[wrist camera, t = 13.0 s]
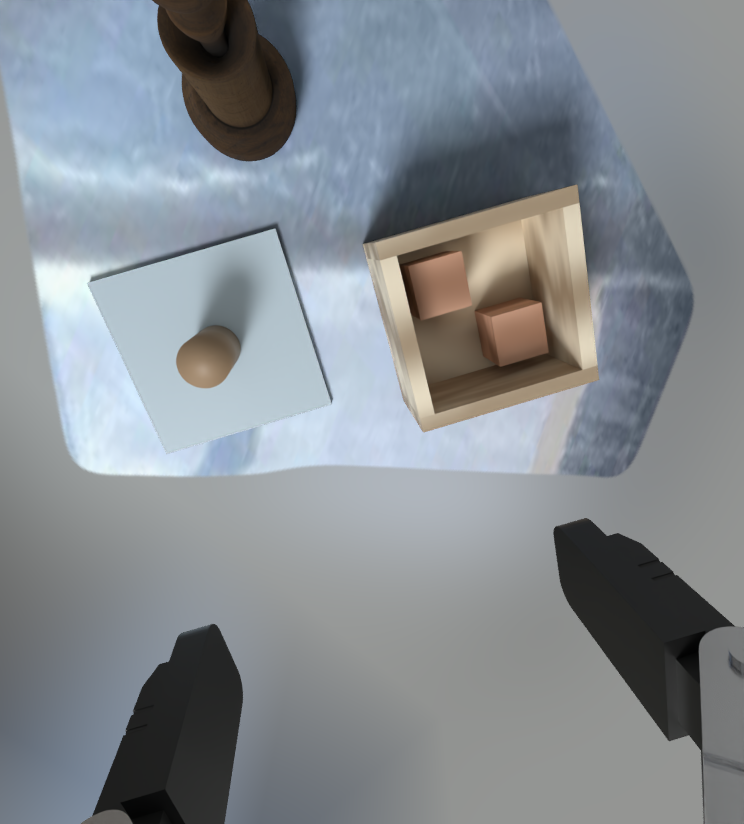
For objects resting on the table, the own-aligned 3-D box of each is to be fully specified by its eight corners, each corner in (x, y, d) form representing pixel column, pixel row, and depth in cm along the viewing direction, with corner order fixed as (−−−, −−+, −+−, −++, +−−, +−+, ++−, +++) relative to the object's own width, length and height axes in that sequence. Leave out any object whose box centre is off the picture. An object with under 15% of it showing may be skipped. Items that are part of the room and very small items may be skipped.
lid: (93, 282, 33) (48, 288, 27) (276, 228, 33) (269, 224, 28) (170, 449, 37) (145, 484, 32) (331, 400, 38) (335, 427, 32)
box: (362, 244, 34) (375, 242, 27) (525, 197, 34) (577, 184, 28) (403, 400, 38) (423, 432, 31) (549, 357, 38) (598, 379, 32)
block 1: (398, 264, 34) (408, 266, 30) (446, 250, 34) (461, 250, 30) (410, 313, 35) (420, 320, 32) (456, 300, 35) (472, 305, 32)
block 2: (474, 310, 35) (491, 317, 32) (520, 297, 35) (541, 302, 32) (483, 356, 36) (500, 366, 33) (527, 343, 37) (548, 352, 33)
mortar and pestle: (166, 87, 30) (-27, -131, 13) (247, 15, 29) (159, -316, 12) (240, 183, 32) (159, 107, 15) (317, 118, 31) (326, -39, 14)
